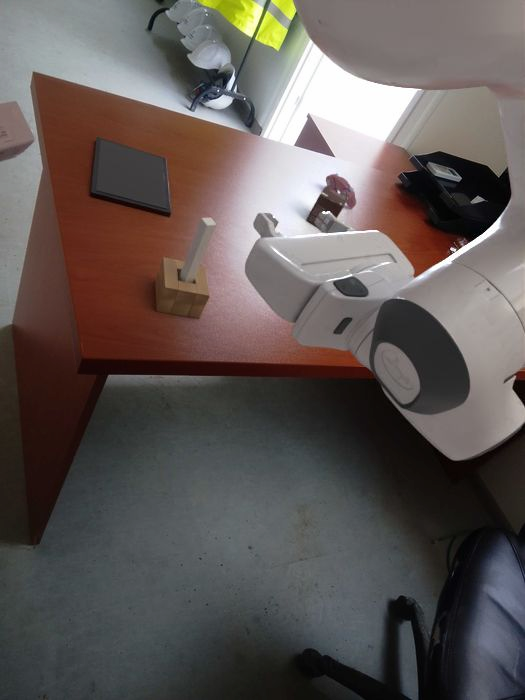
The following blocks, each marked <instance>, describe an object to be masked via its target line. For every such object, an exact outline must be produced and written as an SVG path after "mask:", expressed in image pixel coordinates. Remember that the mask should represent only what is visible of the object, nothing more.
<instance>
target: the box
mask: <svg viewBox="0 0 525 700" xmlns="http://www.w3.org/2000/svg"><path fill="white" fill-rule="evenodd" d="M346 201H347V198H346V197H344V196H342V195H341V194H340V192H338V193H337V192H336V191H334V190H332V189H331V188H329V187H328V186H327V185H326V186H324V188H323V189H322V191H321V192H320V194H319V195H318V197H317V199H316V201H315V203H314V204H313V206H312V208H311V210H310V211H309V214H308V215H307V218H306V221H307V222H308V223H310V224H312V225H314V226H315V227H316V225H315V219H316V218H317V217H318V214H319V213H320V212H331V213H332V214H333V215H334V216H335V217H336V218H337V219H338V217H339V215H340V214H341V212H342V210H343V209H344V207H345V205H346Z"/></svg>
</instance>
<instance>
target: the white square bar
mask: <svg viewBox="0 0 525 700" xmlns="http://www.w3.org/2000/svg"><path fill="white" fill-rule="evenodd" d="M216 227H217V223H216V222H215V221H214V219H213V218H212V217H201V218H200V221H199V223H198V225H197V228H196V231H195V233H194V237H193V239H192V242H191V244H190V247H189V249H188V251H187V254H186V257H185V260H184V261H183V262H184V265H183V268H182V270H181V273H180V276H179V278H178V281H183V282H188V283H193V281H194V279H195V276H196V274H197V271H198V269H199V266H200V265H201V264H202V262H203V259H204V256H205V254H206V251H207V249H208V247H209V245H210V242H211V240H212V238H213V235H214V233H215V230H216Z"/></svg>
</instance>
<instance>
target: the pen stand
mask: <svg viewBox="0 0 525 700" xmlns="http://www.w3.org/2000/svg"><path fill="white" fill-rule="evenodd" d="M161 259H162V260H161V262H160V265H159V268H158V271H157V273H156V277H155V280H154V285H155V287H154V288H155V307H156V309H155V310H156V312H158V313H164V314H170V315H177V316H182V317H188V318H194V319H200V318H201V316H202V313H203V312H204V310H205V308H206V305H207V303H208V301H209V299H210V296H211V293H210V288H209V281H208V274H207V273H208V272H207V268H206V266H205V265H201V264H200V266H199V269H198V271H197V274H196V276H195V279H194V281H193V283H188V282H183V281H178V278H179V276H180V273H181V270H182V268H183V265H184V262H185V261H184V260H178V259H176V258H175V259H173V258H170V257H165V256H163V257H162V258H161Z"/></svg>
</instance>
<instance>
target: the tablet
mask: <svg viewBox="0 0 525 700" xmlns="http://www.w3.org/2000/svg"><path fill="white" fill-rule="evenodd" d="M92 164H93V166H92V174H91V175H92V177H91V183H90V184H91V186H90V195H89V196H90V197H91V198H94V199H98V200H102V201H106V202H110V203H114V204H116V205H121V206H125V207H129V208H133V209H137V210H140V211H144V212H147V213H151V214H155V215H159V216H164V217H168V218H170V217H171V215H172V206H171V198H170V197H171V196H170V195H171V194H170V185H169V184H170V183H169V174H168V163H167V157H163V156H161V155H157V154H155V153H154V154H153V153H151V152H147V151H144V150H141V149H137V148H135V147H131V146H128V145H126V144H122V143H119V142H115V141H112V140H109V139H106V138H103V137H99V136H96V138H95V147H94V156H93V163H92Z"/></svg>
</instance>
